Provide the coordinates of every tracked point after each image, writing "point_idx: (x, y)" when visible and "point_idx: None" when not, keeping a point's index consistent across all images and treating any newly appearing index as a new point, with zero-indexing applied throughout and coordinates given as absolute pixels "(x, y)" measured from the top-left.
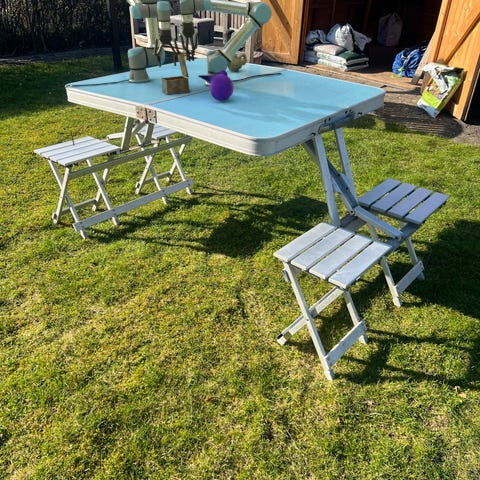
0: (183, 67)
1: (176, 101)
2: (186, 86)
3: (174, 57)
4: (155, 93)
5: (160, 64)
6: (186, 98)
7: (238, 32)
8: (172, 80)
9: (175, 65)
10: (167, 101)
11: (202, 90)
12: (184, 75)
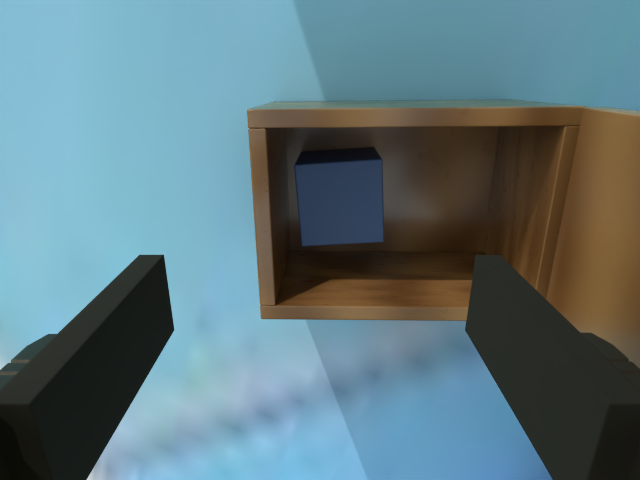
0: (606, 322)
1: (282, 467)
2: None
3: (547, 445)
4: (186, 144)
5: (150, 358)
6: (374, 428)
7: None
8: (338, 318)
9: (474, 337)
10: (225, 442)
11: None
12: (565, 220)
